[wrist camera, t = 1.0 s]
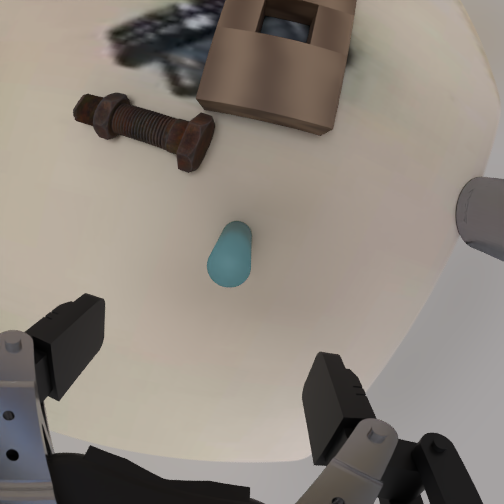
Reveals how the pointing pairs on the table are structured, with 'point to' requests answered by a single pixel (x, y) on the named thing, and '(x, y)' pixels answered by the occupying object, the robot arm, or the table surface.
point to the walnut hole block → (279, 63)
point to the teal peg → (231, 256)
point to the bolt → (148, 127)
